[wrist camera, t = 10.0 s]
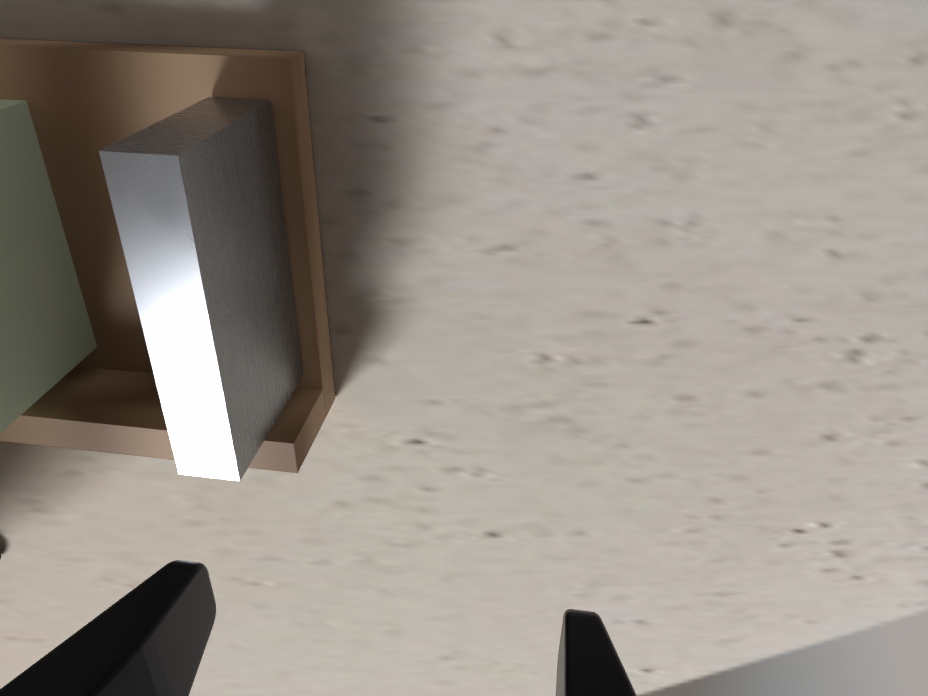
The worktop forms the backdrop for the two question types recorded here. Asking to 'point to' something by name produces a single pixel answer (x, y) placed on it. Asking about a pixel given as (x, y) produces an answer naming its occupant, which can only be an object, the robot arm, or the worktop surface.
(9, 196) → the green book
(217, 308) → the bookend
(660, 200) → the worktop surface
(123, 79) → the wooden book rack
